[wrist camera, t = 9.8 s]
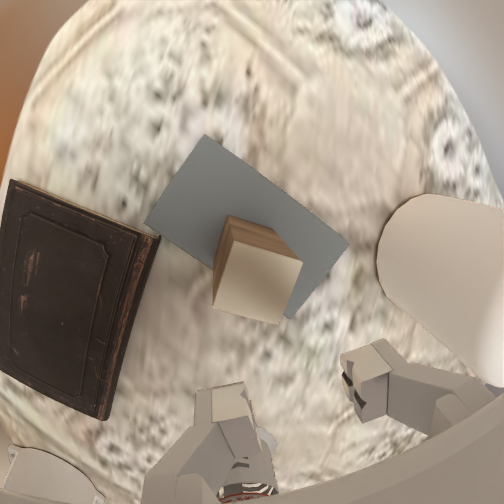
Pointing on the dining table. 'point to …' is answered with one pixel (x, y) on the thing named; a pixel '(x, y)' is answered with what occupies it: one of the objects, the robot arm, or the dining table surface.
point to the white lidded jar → (450, 276)
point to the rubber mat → (241, 215)
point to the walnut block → (253, 271)
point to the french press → (251, 473)
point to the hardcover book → (68, 297)
